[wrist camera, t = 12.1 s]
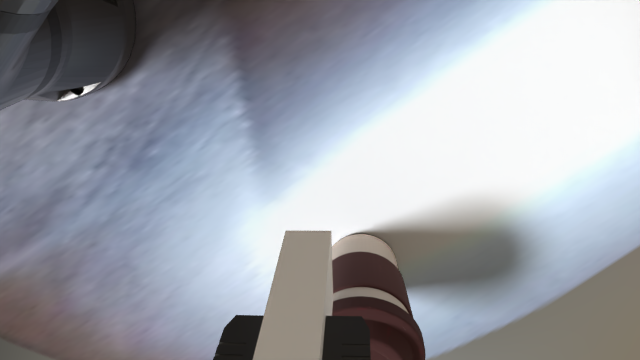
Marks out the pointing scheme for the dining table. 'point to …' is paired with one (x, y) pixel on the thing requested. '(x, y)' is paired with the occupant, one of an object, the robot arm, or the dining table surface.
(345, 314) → the coffee cup
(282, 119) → the dining table surface
